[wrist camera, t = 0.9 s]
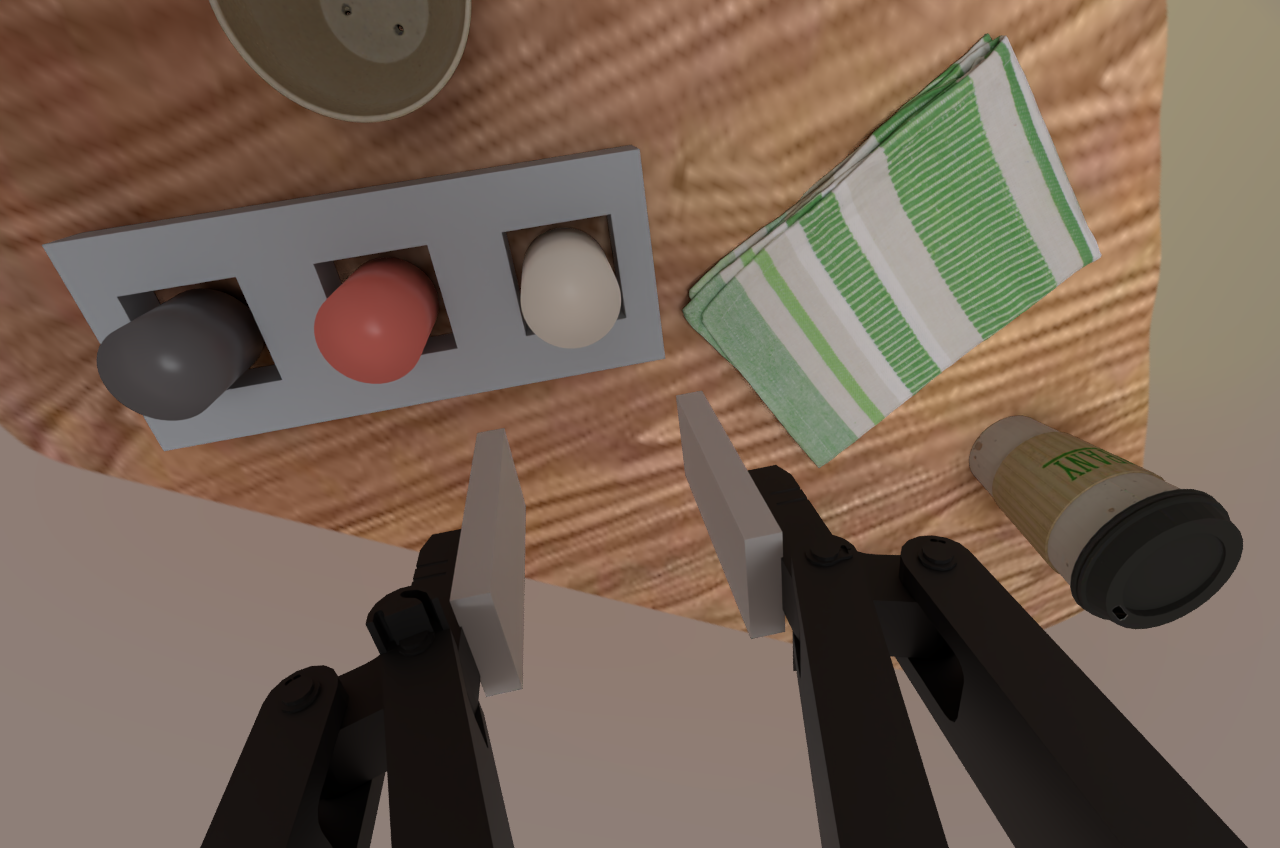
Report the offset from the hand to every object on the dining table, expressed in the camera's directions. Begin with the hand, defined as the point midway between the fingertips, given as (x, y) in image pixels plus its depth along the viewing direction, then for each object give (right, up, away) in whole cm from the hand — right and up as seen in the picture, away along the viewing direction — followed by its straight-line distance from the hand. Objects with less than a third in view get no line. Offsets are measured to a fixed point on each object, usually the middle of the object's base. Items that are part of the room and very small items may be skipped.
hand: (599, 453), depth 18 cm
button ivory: (-3, +10, +18) cm, 21 cm away
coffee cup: (+30, -1, +32) cm, 44 cm away
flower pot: (-12, +22, +13) cm, 28 cm away
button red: (-13, +8, +18) cm, 23 cm away
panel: (-13, +9, +19) cm, 25 cm away
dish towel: (+17, +11, +24) cm, 32 cm away
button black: (-23, +6, +17) cm, 29 cm away
